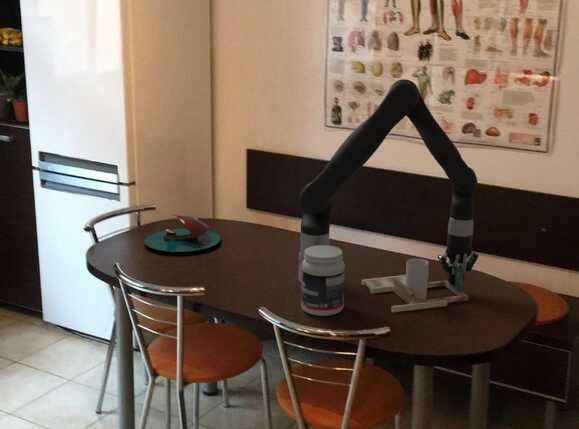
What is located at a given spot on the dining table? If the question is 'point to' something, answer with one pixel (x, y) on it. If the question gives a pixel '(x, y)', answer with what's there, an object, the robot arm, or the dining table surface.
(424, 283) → the mug
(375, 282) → the plain strip
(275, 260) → the dining table surface
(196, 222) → the boat on round base
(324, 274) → the supplement tub
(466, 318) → the dining table surface
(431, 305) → the lane rails
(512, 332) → the dining table surface
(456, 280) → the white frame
